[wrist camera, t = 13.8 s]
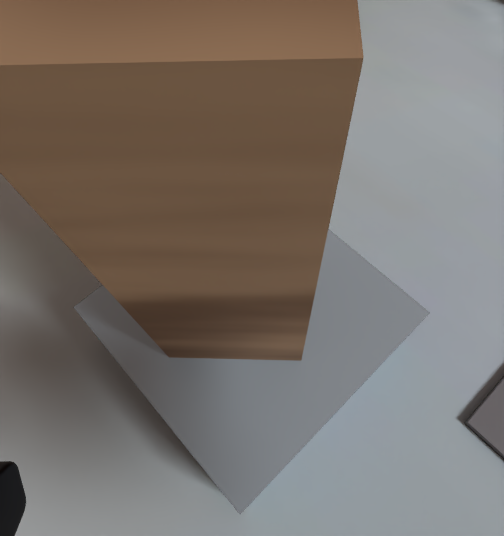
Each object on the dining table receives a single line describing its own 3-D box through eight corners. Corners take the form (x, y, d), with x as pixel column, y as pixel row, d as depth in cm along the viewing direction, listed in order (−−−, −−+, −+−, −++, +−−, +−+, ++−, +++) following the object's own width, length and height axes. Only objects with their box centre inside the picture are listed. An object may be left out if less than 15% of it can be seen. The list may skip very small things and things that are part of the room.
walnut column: (301, 360, 16) (363, 58, 4) (169, 357, 16) (-96, 67, 5) (299, 242, 18) (339, -170, 7) (183, 242, 19) (23, -153, 7)
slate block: (246, 506, 18) (240, 514, 14) (107, 335, 21) (73, 307, 18) (402, 341, 20) (430, 312, 17) (256, 213, 24) (253, 166, 20)
